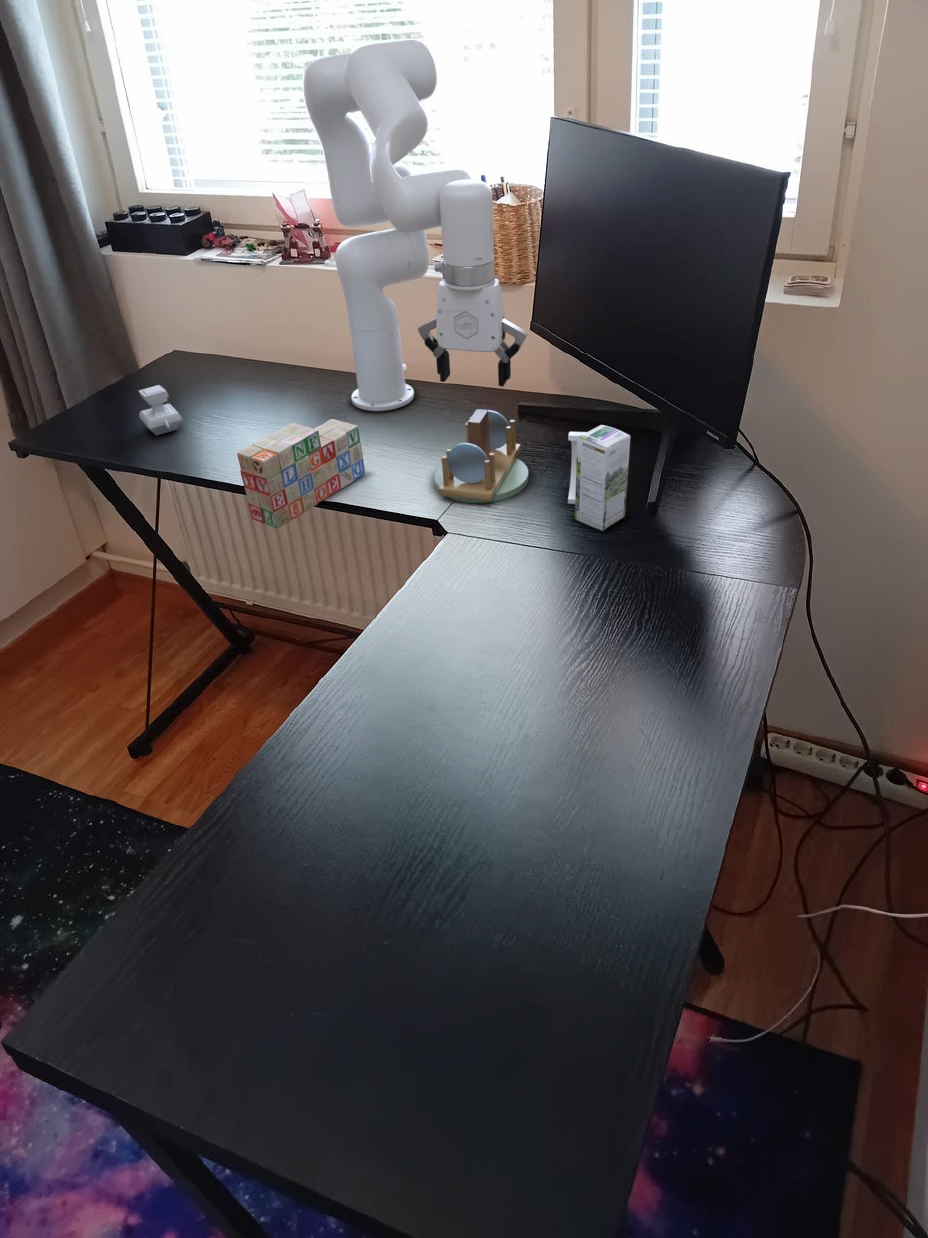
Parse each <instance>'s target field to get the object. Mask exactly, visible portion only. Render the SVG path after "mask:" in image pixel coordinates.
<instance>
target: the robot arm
mask: <svg viewBox="0 0 928 1238" xmlns="http://www.w3.org/2000/svg"><path fill="white" fill-rule="evenodd" d="M438 76H439V75H438V68H437V64H436V61H435V58H434V55H433V54H432V52H431V51H430V49H429V48H428V47H427V46H426V45H425V44H424V43H423V42H422V41H419V40H417V39H404V40H396V41H388V42H379V43H372V44H367V45H363V46H361V47H358V48H357V49H355V50H354V51H353V52H349V53H348V52H347V53H340V54H334V55H328V56H324V57H321V58H320V57H319V58H318V59H315V60H313V61H311V62H310V63H309V64H308V65H307V66H305V68H304V70H303V73H302V77H301V93H302V99H303V102H304V106H305V107H304V108H305V109H306V113H307V115H308V118H309V119H310V120H309V121H310V122H311V124H312V127H313V128H314V130H315V133H316V135H317V138H318V140H319V143H320V144H321V150H322V154H323V159H324V160H323V161H324V165H325V170H326V176H327V181H328V186H329V192H330V197H331V201H332V206H333V209H334V213H335V216H336V219H337V221H338V222H339V223H340V224H341V225H342V226H344V227H347V228H359V227H360V228H361V227H364V226H365V227H366V226H371V225H372V226H373V225H377V224H382V223H388V222H390V223H391V225H392V226H393V227H394V228H390V229H383V230H379V231H378V230H377V231H373V232H368V233H367V232H366V233H364V234H358V235H354V236H351V237H349V238H346V239H345V240H343V241H342V242H341V243H340V244H339V245H338V246H337V247H336V251H335V255H334V261H335V266H336V267H335V268H336V270H337V274H338V277H339V281H340V283H341V287H342V292H343V295H344V300H345V305H346V311H347V318H348V324H349V332H350V339H351V348H352V353H353V363H354V369H355V377H356V383H357V385H356V386H357V388H356V389H355V390H353V392H352V393H351V397H350V398H351V403H352V405H353V406H354V407H356V408H358V409H360V410H363V411H369V412H386V411H392V410H396V409H399V408H402V407H405V406H406V405H408V404H410V403H411V402H412V401H413V399H414V398H415V390H414V388H413V387H412V386H411V385H410V384H407V383H406V378H405V375H406V372H407V371H408V366H407V365H406V364H405V363H404V357H403V350H402V349H403V348H402V338H401V328H400V320H399V311H398V307H397V306H396V304H395V303H394V301H393V300H392V299H391V298H390V297H389V296H388V295H386V293H385V292H384V290H383V289H384V288H386V287H390V286H393V285H397V284H401V283H406V282H410V281H415V280H418V279H420V278H423V276H425V275H426V273H427V272H428V270H429V267H430V251H429V243H428V237H427V230H429V229H434V228H439V227H440V229H441V245H442V261H440V262H435V264H434V272H435V273H440V274H441V275H442V279H441V280H440V281H439V282H438V288H437V297H436V298H437V299H436V317H433V318H431V319H430V320H428V321H426V322H424V323H421V324H420V325H419V327H417V332H418V333H419V336H420V337H421V339H422V340H423V342H424V346H425V347H426V348H427V349H429V351H431V352H432V355H433V357H434V358H435V359H436V374H437V375H439V380H440V383H445V382H446V381H447V380H448V379H449V377H450V376H451V365H450V364H451V363H450V353H449V350H450V351H461V352H474V353H475V352H477V353H495V355H496V356H497V357H498V358H499V361H498V363H497V378H498V381H497V382H498V386H499V387H502V388H503V387H505V385H506V384H507V382H508V380H510V379H511V376H512V375H511V374H512V373H511V372H512V371H511V370H512V369H511V364H512V363H511V359H512V358H513V357H514V356H515V355H517V354H518V352H519V351H520V350H521V348H522V346H523V344H524V342H525V340H526V338H527V336H528V332H527V331H526V330H525V329H524V328H521V327H520V326H518V325H516V324H514V323H513V322H511V321H509V320H507V319H506V313H505V304H504V298H503V293H502V288H501V284H500V280H499V279H498V278H496V277H495V275H496V273H495V239H494V205H493V203H494V202H493V191H492V189H491V186H490V185H489V184H488V183H487V182H485V181H483V180H479V179H476V178H475V177H474V175H473V174H472V173H471V172H470V171H468V170H467V169H464V168H461V167H455V168H454V167H453V168H447V169H442V170H436V171H429V172H428V171H427V172H422V173H417V174H414V171H412V169H411V168H410V166H408V165H407V164H405V163H403V162H400V161H401V160H402V159H404V158H405V157H407V155H409V154H410V153H411V152H412V151H414V150H415V149H416V148H417V147H418V146H419V145H420V144H421V143H422V141H423V140H424V138H425V136H426V134H427V131H428V127H429V117H428V114H427V112H426V110H425V108H424V106H423V105H422V103H421V102H423V101H426V100H428V99H429V98H431V97H432V96H433V95H434V94H435V91H436V89H437V85H438V78H439V77H438ZM355 112H360V113H361V114H362V116H363V118H364V120H365V121H366V123H367V125H368V127H369V129H370V131H371V132H372V134H373V135H374V137H375V140H374V142H373V145H372V144H371V139H370V137H369V133H368V132H367V131H366V129H365V128H364V127H363V125H362V124H361V123H360V122H359V120H358V119H357V118H356V117H355V116H353V115H352V114H351V113H355ZM435 329H436V337H435V336H434V335H433V334H432V332H431V331H433V330H435ZM507 334H508V335H510V336H512V337H513V338H514V342H513V343H512V344H511V345H508V343H507V342H506V341H505V340H506V335H507Z"/></svg>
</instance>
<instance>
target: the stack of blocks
mask: <svg viewBox="0 0 928 1238" xmlns="http://www.w3.org/2000/svg"><path fill="white" fill-rule="evenodd" d="M362 446H363V445H362V443H361V437H360V431H359V426H358V425H356V424H352V423H349V422H344V421H342V420H338V419H334V418H330V419H329V420H327V421H325V422H323V423H322V424H320V425H317V426H315V427H313V428H312V427H309V426H304V425H301V424H298V423H295V422H290V423H288V424H287V425H285V426H283V427H281V428H279V429H277V430H275V431H274V432H272V433H270V434H268V435H267V436H264V437H263V438H261V439H259V440H257V441H255V442H254V443H252V444H250V445H247V446H245V447H244V448H242V449H240V450H238V451H237V452H236V456H237V460H238V464H239V468H240V470H239V472H240V475H241V481H242V485H243V486H244V491H245V495H246V499H247V503H248V508H249V513H250V518H251V520H254V521H256V522H259V523H262V524H265V525H267V526H269V527H272V528H274V529H280V528H281V527H282V526H285V525H286V524H288V523H289V522H291V521H294V520H295V519H296V518H298V517H299V516H301V515H303V514H304V513H306V512H307V511H309V510H311V509H312V508H314V507H316V506H317V505H318V504H320V503H321V502H322V501H324V500H326V499H327V498H329V497H330V496H332V495H334V494H335V493H337V492H338V491H340V490H341V489H343V488H345V487H346V486H348V485H350V484H351V483H354V482H355V481H356V480H358V479H360V478H361V477H363V476H364V475H365V474H366V469H365V462H364V455H363V447H362Z"/></svg>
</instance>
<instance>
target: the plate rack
mask: <svg viewBox="0 0 928 1238" xmlns="http://www.w3.org/2000/svg"><path fill="white" fill-rule="evenodd" d="M464 427H465V429H464V430H465V442H460V443H458V444H456V445H454V446H452V448H447V449H446V450H445V453H446V455H442V456H441V458H440V459H441V460H440V461H441V464H442V472H443V482H442V484H441V485H440V487H439V488H438V490H437V491H438V495H439V496H444V495H446V496H455V497H464V498H474V499H483V500H492V498H493V497H494V495H495V493H496V492H497V490H498V488H499V486H500V485H501V483H502V481H503V480H504V478H505V476H506V474H507V473H508V471H509V469H510V468H511V466H512V464H513V462H514V461H515V459H516V458H518V456H519V454H520V453H521V449H522V448H521V444H520V443H517V441H516V440H517V439H516V438H517V437H516V420H515V419H510V420H509V421H508V420H507V418H506V417H505V416H504V415H503V414H502V413H500V412H498V411H496V410H491V409H481V408H480V409H479V408H478V409H476V410H475V411H474V413H473V414H472V415H471V416H470V417H469V419H468V421H467V422H465V423H464ZM446 496H445V497H446Z"/></svg>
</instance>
